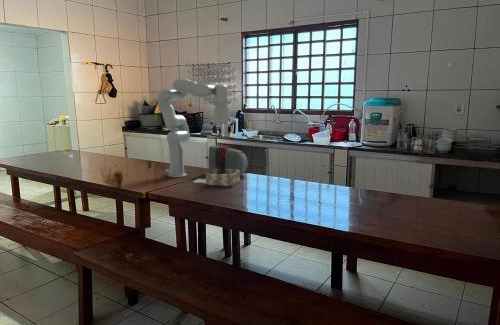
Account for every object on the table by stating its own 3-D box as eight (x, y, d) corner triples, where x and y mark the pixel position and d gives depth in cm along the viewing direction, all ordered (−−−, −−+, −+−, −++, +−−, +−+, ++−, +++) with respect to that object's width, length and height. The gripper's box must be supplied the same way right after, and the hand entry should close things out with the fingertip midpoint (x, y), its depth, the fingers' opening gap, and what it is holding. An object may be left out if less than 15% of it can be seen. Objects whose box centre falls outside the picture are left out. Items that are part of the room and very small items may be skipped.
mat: (192, 182, 232) (192, 182, 232) (197, 179, 241) (197, 178, 241) (205, 183, 230) (205, 182, 230) (210, 179, 239) (210, 179, 239)
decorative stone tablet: (207, 145, 254) (245, 152, 241) (212, 144, 260) (249, 150, 246) (206, 172, 259) (243, 179, 245) (211, 170, 264) (247, 177, 251)
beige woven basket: (206, 184, 227) (205, 173, 226) (214, 179, 241) (213, 168, 240) (233, 185, 223) (233, 174, 221) (240, 180, 237) (239, 169, 236)
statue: (214, 181, 234) (213, 151, 230) (224, 180, 237) (224, 150, 233) (217, 184, 228) (216, 152, 224) (228, 182, 231) (227, 152, 227)
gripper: (206, 105, 223) (207, 133, 226) (233, 105, 218) (233, 133, 222) (210, 105, 230) (211, 131, 233) (236, 105, 225) (236, 132, 229)
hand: (222, 132), depth 227 cm, fingers open, 9 cm apart
